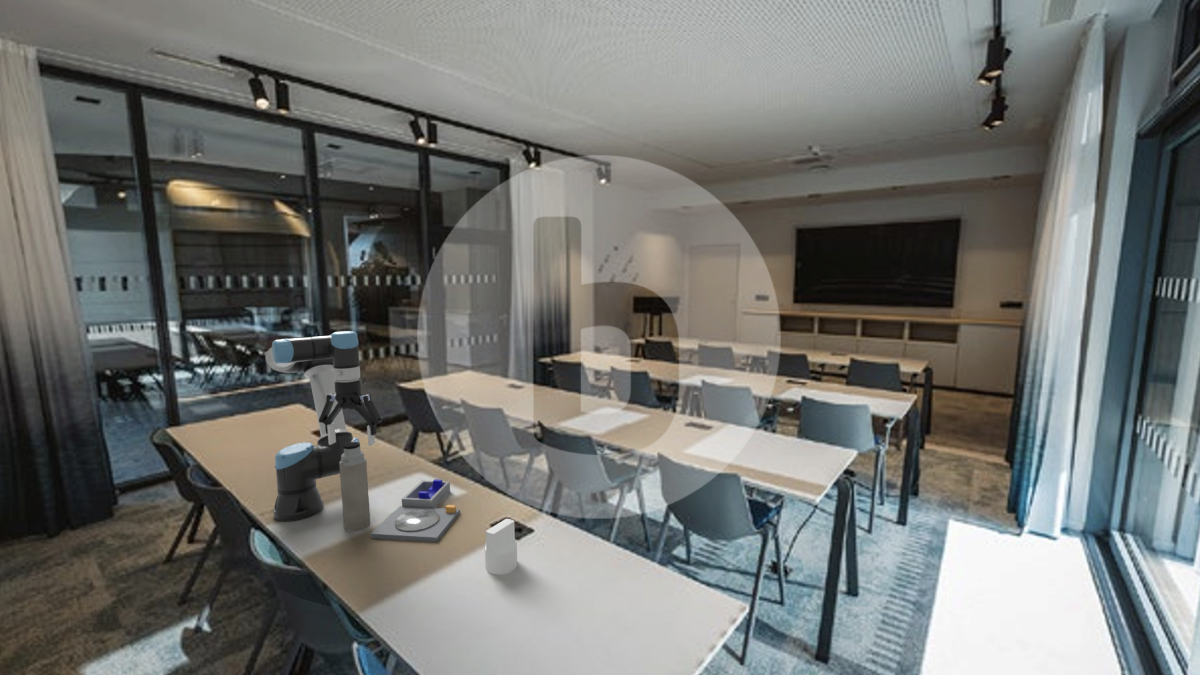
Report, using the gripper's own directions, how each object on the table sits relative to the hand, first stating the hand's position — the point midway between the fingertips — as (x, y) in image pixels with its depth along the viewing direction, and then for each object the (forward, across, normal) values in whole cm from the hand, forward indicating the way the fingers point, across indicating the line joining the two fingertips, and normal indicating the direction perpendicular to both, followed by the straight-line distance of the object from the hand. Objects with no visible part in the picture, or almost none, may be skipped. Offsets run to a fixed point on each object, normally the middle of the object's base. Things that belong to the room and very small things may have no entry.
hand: (352, 444), depth 166 cm
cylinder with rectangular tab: (+28, +54, -17) cm, 64 cm away
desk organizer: (+28, +15, +20) cm, 38 cm away
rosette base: (+28, +20, +2) cm, 34 cm away
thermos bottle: (+28, 0, 0) cm, 28 cm away
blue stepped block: (+28, +16, +20) cm, 38 cm away
